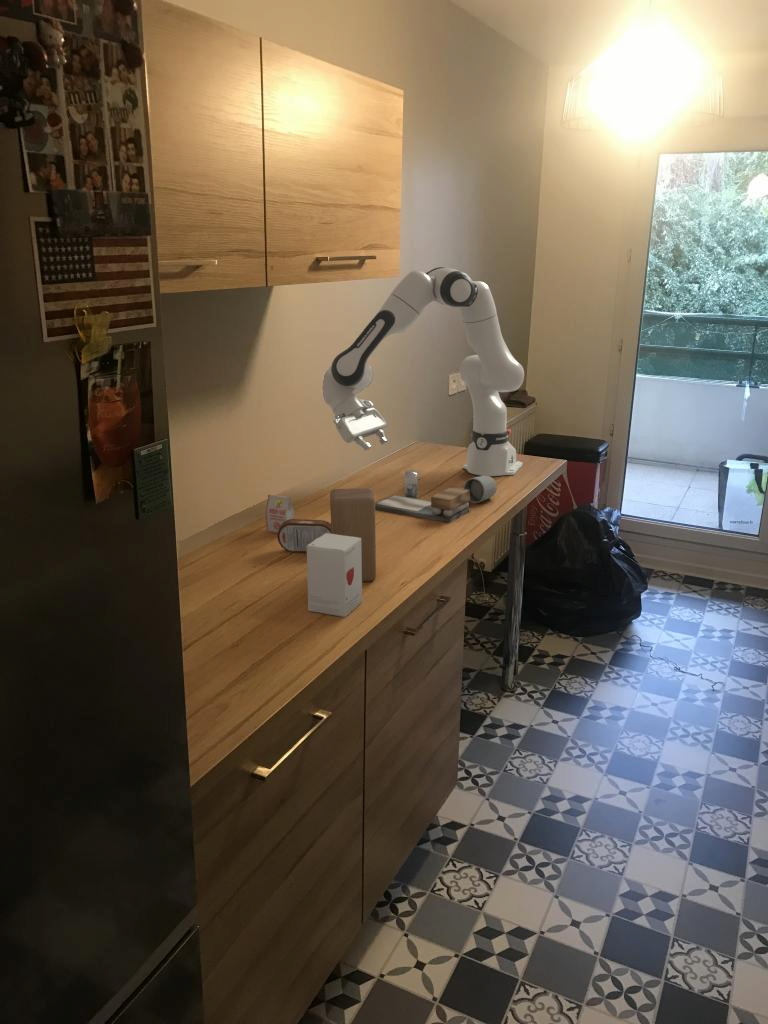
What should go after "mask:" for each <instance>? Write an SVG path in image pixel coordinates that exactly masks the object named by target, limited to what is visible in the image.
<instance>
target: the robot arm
mask: <svg viewBox="0 0 768 1024" xmlns="http://www.w3.org/2000/svg"><path fill="white" fill-rule="evenodd" d="M432 302H437V304H440V305H444V306H449V307H453V308H458V309H459V310H460V312H461V319H462V323H463V328H464V332H465V337H466V342H467V344H468V346H469V347H470V348H471V349H472V350H473V351H474V353H475V354H473V355H468V356H467V357H465V358H464V359H463V360H462V362H461V364H460V367H459V368H460V369H459V374H460V378H461V380H462V381H463V383H465V385H466V387H467V389H468V392H469V395H470V397H471V399H470V400H471V403H472V409H473V411H472V413H473V415H472V417H473V419H472V420H473V422H472V423H473V425H472V427H473V429H472V430H471V441H472V442H471V443H470V444H469V445H468V447H467V448H468V449H467V455H466V463H465V464H463V466H462V467H463V469H464V470H466V471H467V472H468V473H470V474H472V475H476V476H490V477H498V476H500V477H501V476H513V475H515V474H516V473H518V471H519V470H520V469H521V468H522V467H523V465H524V463H523V462H522V461H519V460H517V450H516V448H515V447H514V446H513V445H512V444H511V443H510V442H509V436H512V435H511V434H512V430H511V429H507V423H508V422H507V420H508V417H507V415H508V409H507V406H506V404H505V403H504V402H503V400H502V399H501V396H500V393H509V392H515V391H518V390H519V388H520V387H521V386H522V385H523V383H524V380H525V370H524V367H523V366H522V364H521V363H519V362H518V360H517V359H515V357H514V355H512V353H511V352H510V349H509V348H508V346H507V343H506V341H505V340H504V338H503V335H502V332H501V327H500V322H499V318H498V317H499V316H498V313H497V307H496V304H495V299H494V297H493V294H492V292H491V289H490V287H489V285H488V284H486V283H485V282H483V281H479V280H476V281H473V280H472V278H471V276H469V275H468V274H467V273H465V272H463V271H460V270H458V269H455V268H450V267H440V266H439V267H436V268H432V269H430V270H429V271H427V272H424V271H421V270H411V271H410V272H409V273H407V275H405V277H404V278H403V279H401V280H400V282H399V283H398V284H397V285H396V286H395V287H394V289H393V290H392V291H391V293H390V295H389V296H388V297H387V298H386V300H385V302H384V303H383V304H382V306H381V307H380V309H379V311H377V313H376V315H375V316H373V318H372V319H371V320H370V322H368V323H367V325H366V327H365V328H364V329H363V331H362V332H361V333H360V334H359V335H358V337H356V339H355V340H354V341H353V343H352V344H351V345H350V346H349V347H348V348H346V349H345V350H343V351H342V352H340V353H339V354H338V355H336V357H335V358H334V359H333V360H332V364H331V365H329V366H330V367H329V369H328V370H327V371H326V373H325V375H324V380H323V386H322V387H323V388H322V389H323V397H324V400H325V401H324V400H323V401H324V403H325V404H326V405H328V406H329V407H330V409H331V411H332V413H333V414H334V415H335V416H334V417H333V423H334V425H335V429H336V430H337V432H338V433H339V435H340V437H341V438H342V440H343V441H344V442H345V443H346V444H347V443H348V444H350V443H353V442H355V444H356V445H358V446H360V447H361V448H363V450H364V451H369V450H370V449H372V445H371V444H370V443H369V442H367V441H365V440H364V438H368V437H370V436H371V437H372V436H374V435H376V437H378V439H379V440H378V441H379V443H380V444H381V445H386V444H387V442H388V439H387V438H386V435H385V432H384V430H385V429H386V428H387V425H388V424H387V421H386V420H385V419H384V417H383V416H382V414H380V412H379V411H378V409H376V408H375V407H374V403H373V402H372V401H371V400H367V399H361V398H358V397H357V395H356V394H358V393H360V392H362V391H363V390H365V389H366V388H368V387H370V385H371V384H372V382H373V380H374V371H373V368H372V366H371V365H370V364H369V363H368V360H369V358H370V357H371V355H373V353H374V352H375V351H376V350H377V348H378V347H379V345H381V343H382V341H384V340H385V339H386V338H387V337H389V336H391V335H395V334H400V333H401V334H402V333H405V332H406V331H407V330H409V328H411V327H412V326H413V325H414V324H415V322H416V321H417V320H418V318H419V317H420V316H421V314H422V312H423V311H424V310H425V309H426V307H427V306H428V305H429V304H430V303H432ZM499 392H500V393H499Z"/></svg>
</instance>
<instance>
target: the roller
mask: <svg viewBox="0 0 768 1024" xmlns="http://www.w3.org/2000/svg"><path fill="white" fill-rule="evenodd" d="M418 478H419V473H418V470H413V469H412V470H405V471H404V497H410V498H415V499H419V498H418V497H419V494H418V493H419V492H418V490H419V486H418V485H419V484H418V481H419V479H418Z"/></svg>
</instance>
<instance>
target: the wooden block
mask: <svg viewBox="0 0 768 1024" xmlns="http://www.w3.org/2000/svg"><path fill="white" fill-rule="evenodd" d="M329 501H330V502H329V505H330V506H329V507H330V524H331V534H337V535H343V536H351V537H358V538H361V557H362V582H373V581H375V580H376V578H377V555H376V554H377V553H376V552H377V550H376V549H377V548H376V546H377V543H376V542H377V541H376V537H377V536H376V534H377V532H376V509H375V503H376V500H375V496H374V491H373V489H372V488H370V487H364V488H362V487H361V488H334V489H332V490H330V493H329Z"/></svg>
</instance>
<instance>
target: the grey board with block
mask: <svg viewBox="0 0 768 1024" xmlns="http://www.w3.org/2000/svg"><path fill="white" fill-rule="evenodd" d="M468 500H470V490H468V489H463V488H461V487H454V486H450V487H449V488H447V489H444V490H442V491H441V492H439V493H437V494H435V495H433V496H431V500H427V499H420V498H416V499H415V498H410V497H405V495H404V496H403V495H396V494H392V495H389V496H388V497H385V498H384V499H381V500H379V501H375V510H378V511H383V512H388V513H394V514H395V513H396V514H399V515H404V514H405V516H410V515H411V516H410V517H415V516H416V518H421V517H422V518H423V519H426V518H428V520H432V519H434V520H433V521H437V520H440V521H439V522H443V521H446V522H445V523H448V522H450V523H452V522H454V521H456V520H457V519H459V518H461V517H463V516H464V515H466V514H468V513H469V512H470V507H469V506H470V501H468ZM462 515H463V516H462ZM460 516H461V517H460ZM458 517H459V518H458ZM455 519H456V520H455ZM453 520H454V521H453ZM451 521H452V522H451Z"/></svg>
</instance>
